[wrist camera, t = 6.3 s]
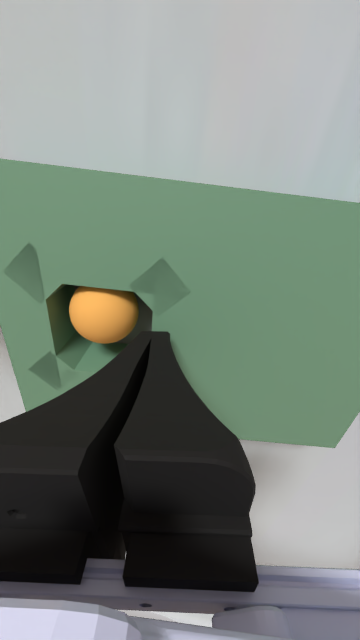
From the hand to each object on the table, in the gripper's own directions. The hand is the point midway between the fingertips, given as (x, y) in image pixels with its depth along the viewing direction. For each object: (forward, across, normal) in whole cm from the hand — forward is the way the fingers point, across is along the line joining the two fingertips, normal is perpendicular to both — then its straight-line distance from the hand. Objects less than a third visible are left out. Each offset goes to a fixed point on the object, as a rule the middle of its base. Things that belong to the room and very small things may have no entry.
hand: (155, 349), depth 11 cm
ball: (+2, +3, -1) cm, 4 cm away
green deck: (+4, -2, 0) cm, 5 cm away
